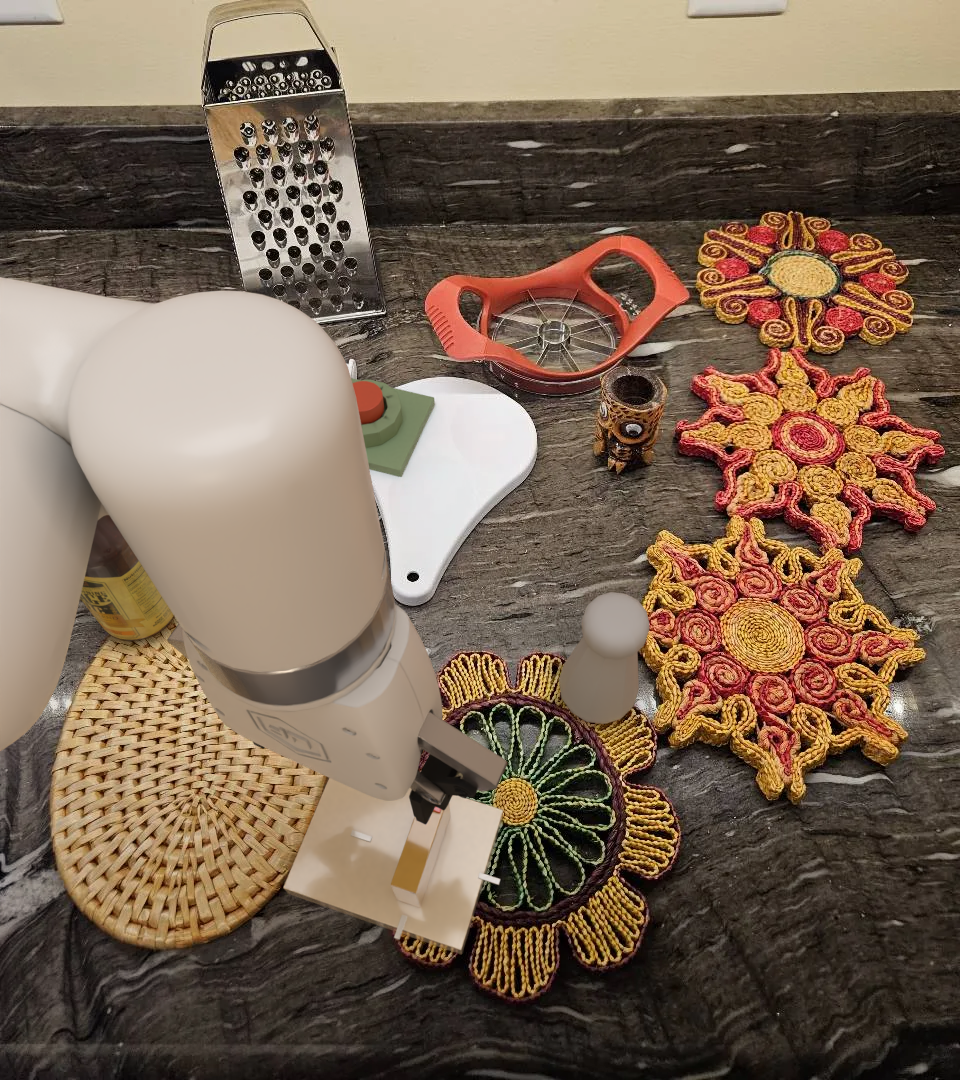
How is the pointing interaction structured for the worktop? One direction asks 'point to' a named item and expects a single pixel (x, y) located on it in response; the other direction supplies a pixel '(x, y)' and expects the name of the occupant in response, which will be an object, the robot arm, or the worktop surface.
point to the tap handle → (419, 857)
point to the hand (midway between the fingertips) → (353, 758)
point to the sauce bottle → (121, 588)
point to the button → (368, 401)
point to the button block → (395, 429)
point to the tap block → (394, 864)
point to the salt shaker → (605, 659)
